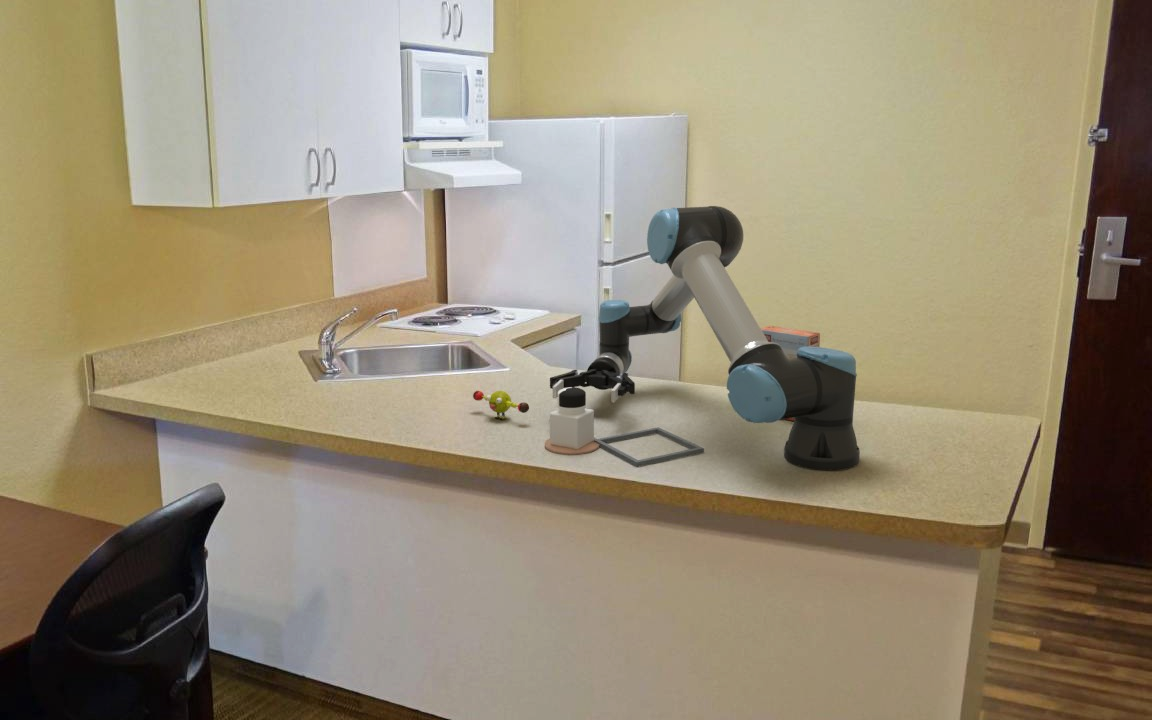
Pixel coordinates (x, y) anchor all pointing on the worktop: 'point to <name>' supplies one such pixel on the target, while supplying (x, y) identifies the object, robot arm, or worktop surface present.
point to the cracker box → (791, 340)
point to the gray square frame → (692, 450)
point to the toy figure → (500, 402)
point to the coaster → (564, 450)
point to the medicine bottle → (571, 420)
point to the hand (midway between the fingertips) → (583, 394)
